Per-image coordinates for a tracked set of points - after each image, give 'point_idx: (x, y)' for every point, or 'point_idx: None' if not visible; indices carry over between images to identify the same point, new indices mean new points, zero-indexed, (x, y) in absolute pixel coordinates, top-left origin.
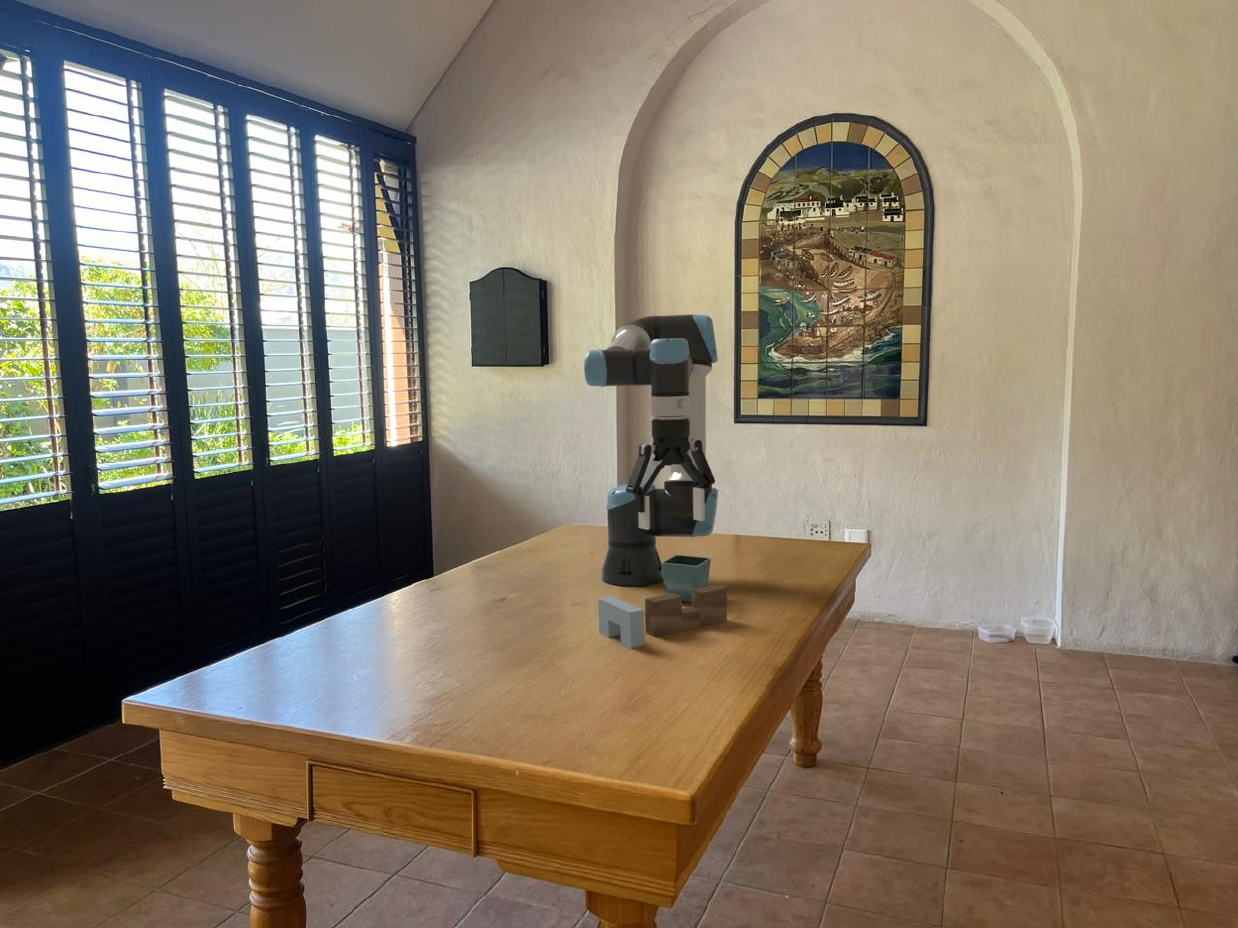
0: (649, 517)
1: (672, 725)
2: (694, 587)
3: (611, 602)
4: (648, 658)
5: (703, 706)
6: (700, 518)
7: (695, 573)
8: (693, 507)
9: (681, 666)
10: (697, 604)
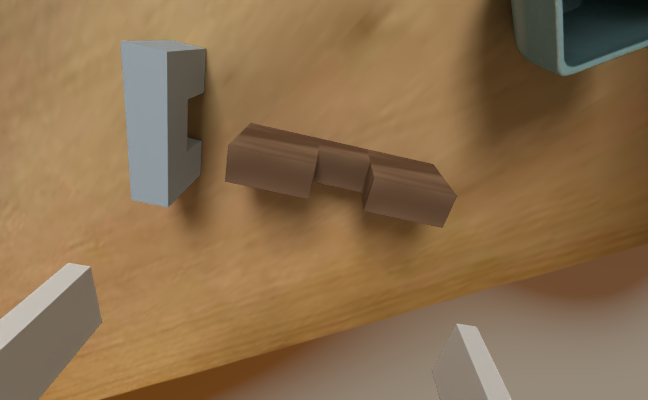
0: (52, 381)
1: (77, 358)
2: (522, 54)
3: (134, 105)
4: (168, 222)
5: (132, 353)
6: (439, 375)
7: (544, 64)
8: (484, 391)
9: (189, 274)
10: (364, 187)
